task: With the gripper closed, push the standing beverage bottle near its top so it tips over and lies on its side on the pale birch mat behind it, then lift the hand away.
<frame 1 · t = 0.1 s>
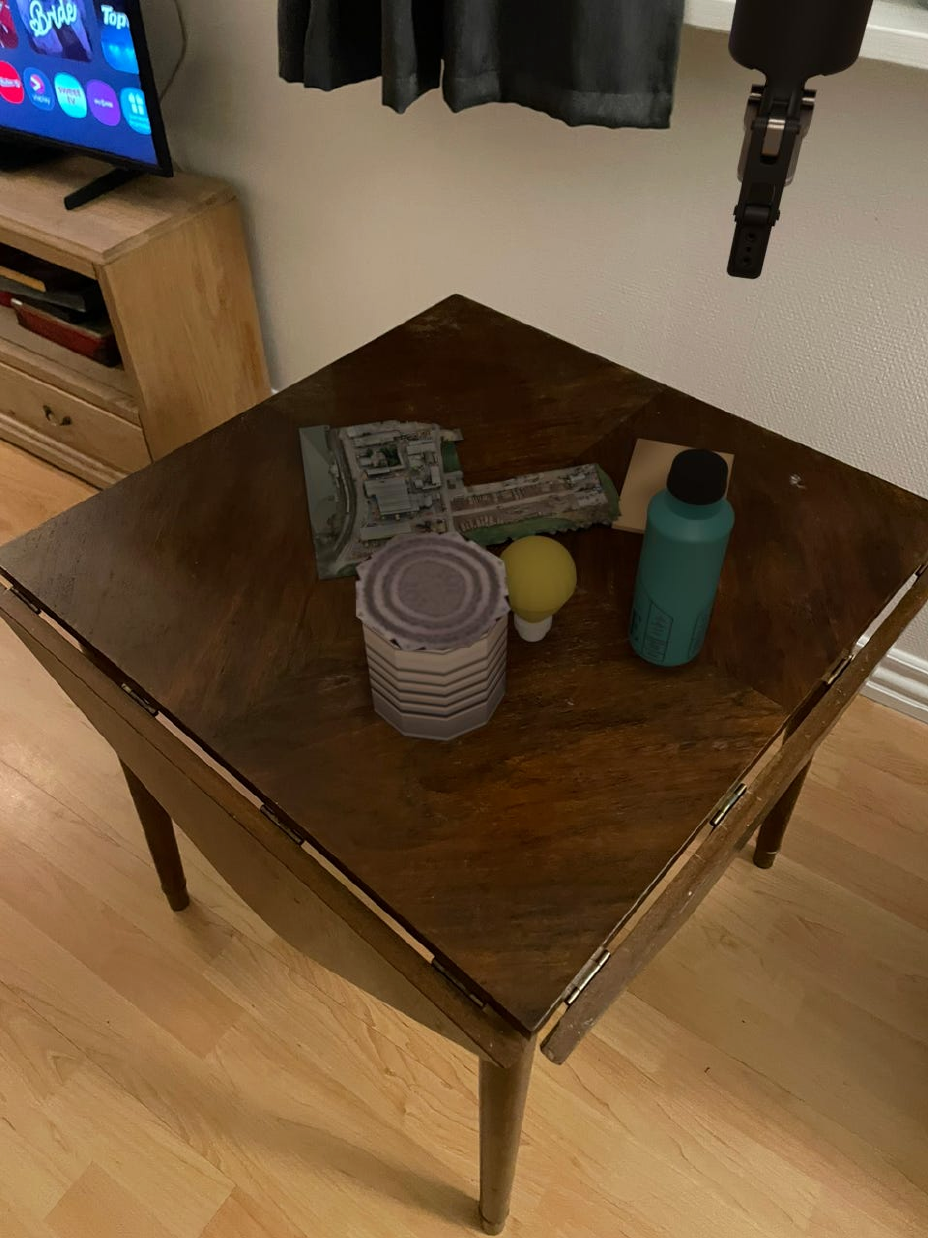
hand: (749, 246, 64), 30 cm above the table, tool pointing down, fingers open, 8 cm apart
mat: (674, 492, 93), on the table
can: (437, 687, 77), on the table
model: (458, 484, 94), on the table, touching mat
light bulb: (532, 632, 81), on the table
beverage bottle: (660, 652, 79), on the table
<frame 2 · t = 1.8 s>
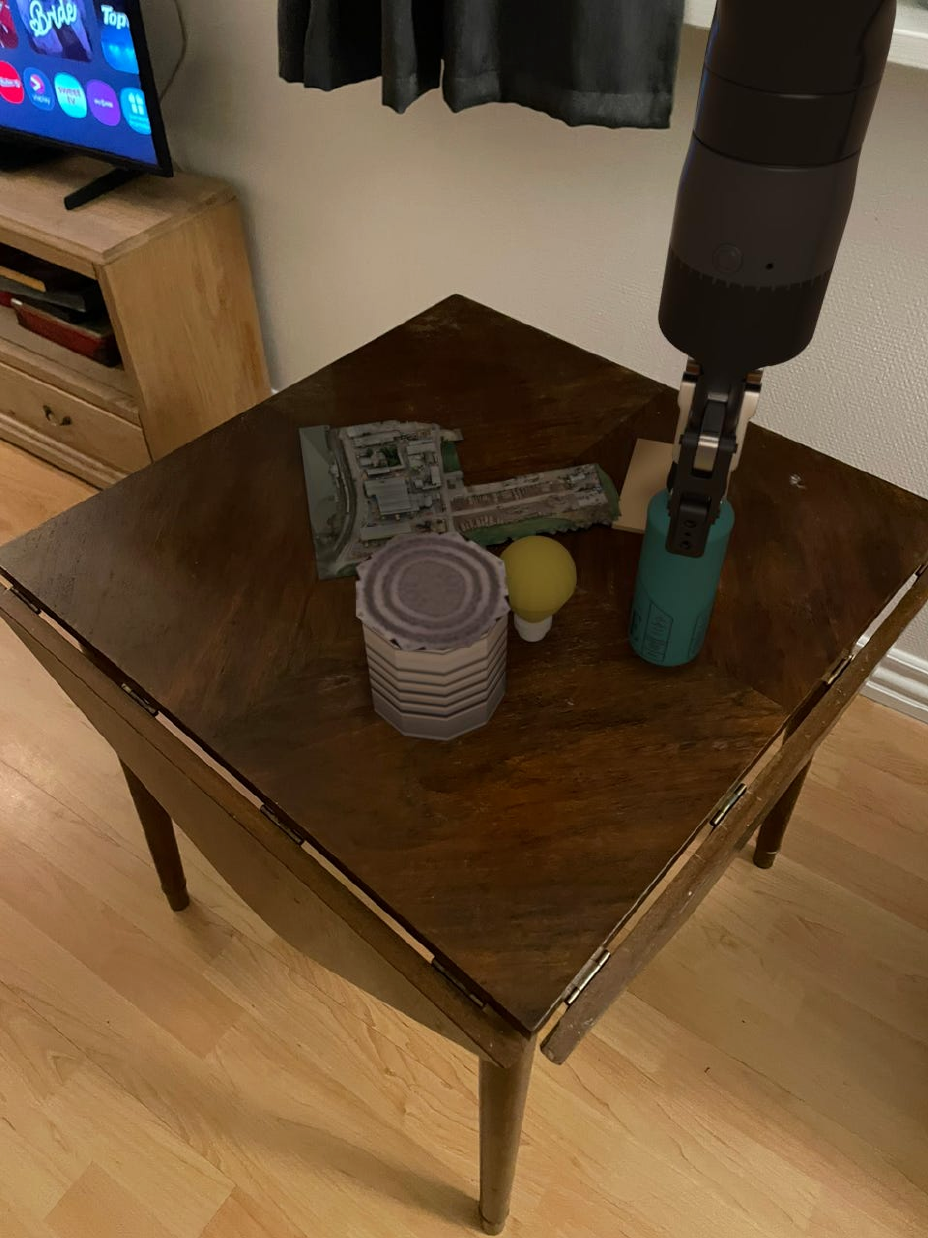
hand: (691, 515, 55), 24 cm above the table, tool pointing down, fingers open, 5 cm apart
nothing on the table moved.
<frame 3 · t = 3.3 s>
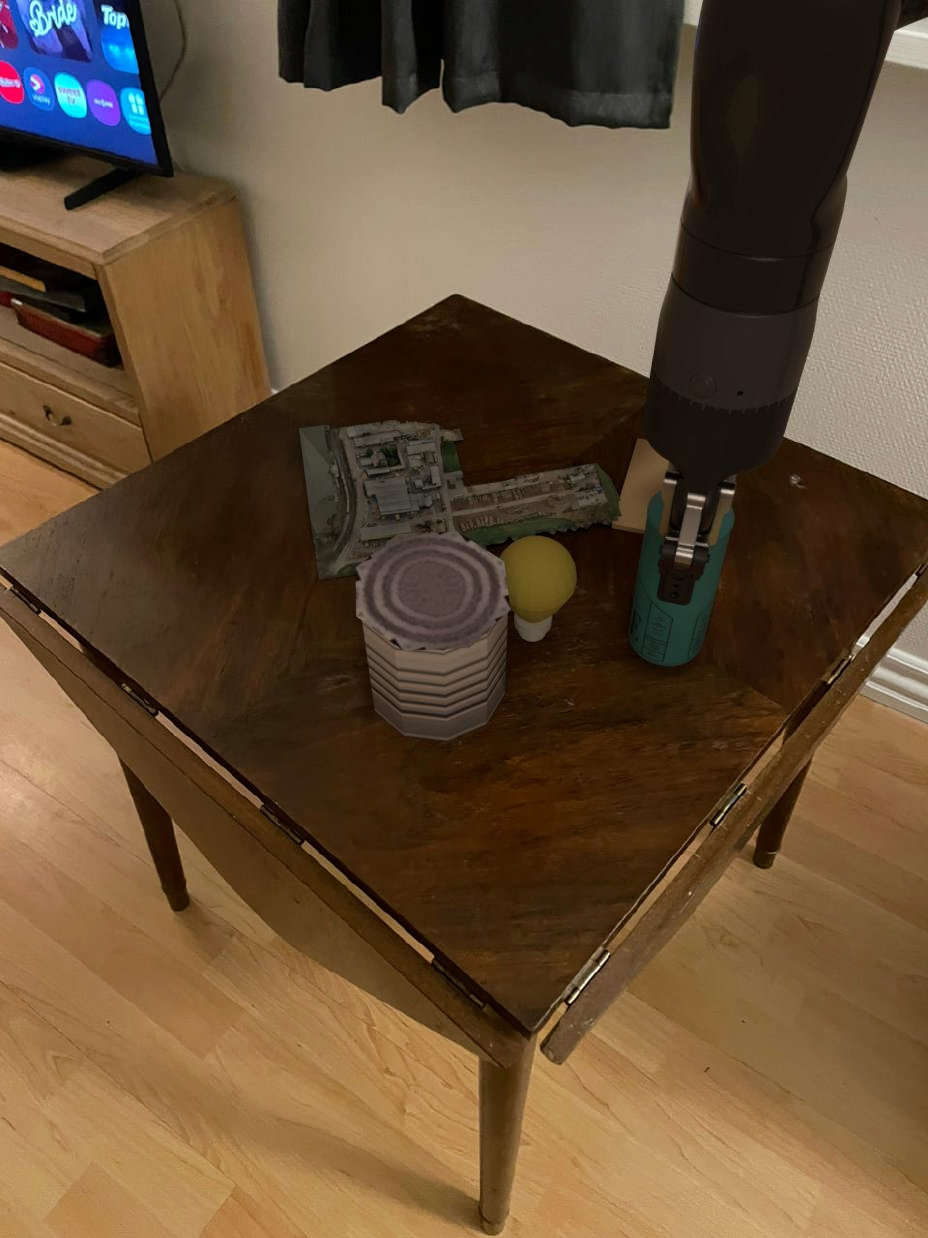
hand: (674, 595, 60), 16 cm above the table, tool pointing down, fingers closed
nothing on the table moved.
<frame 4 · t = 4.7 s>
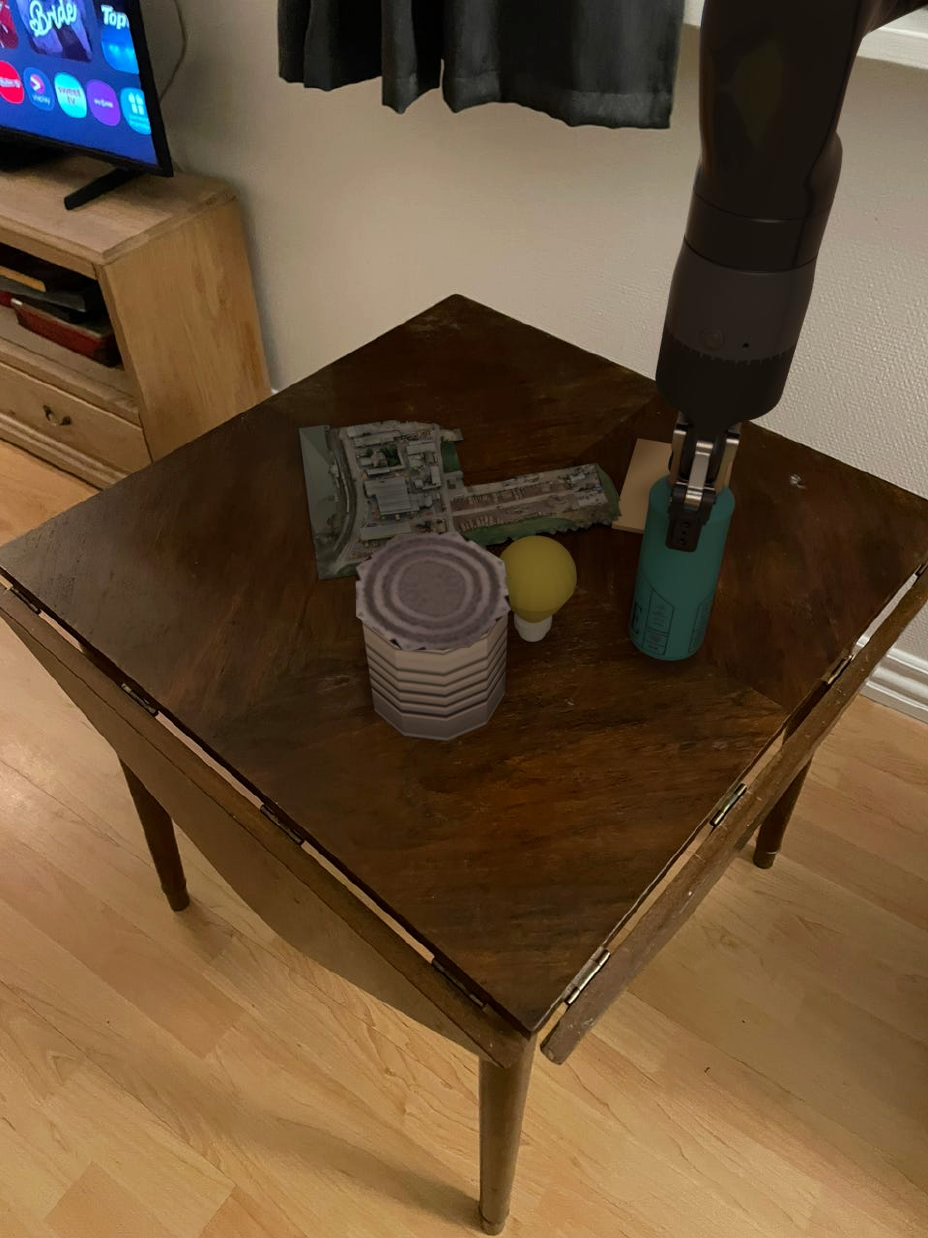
hand: (681, 543, 65), 15 cm above the table, tool pointing down, fingers closed
beverage bottle: (661, 650, 79), on the table, touching hand
everything else where it was.
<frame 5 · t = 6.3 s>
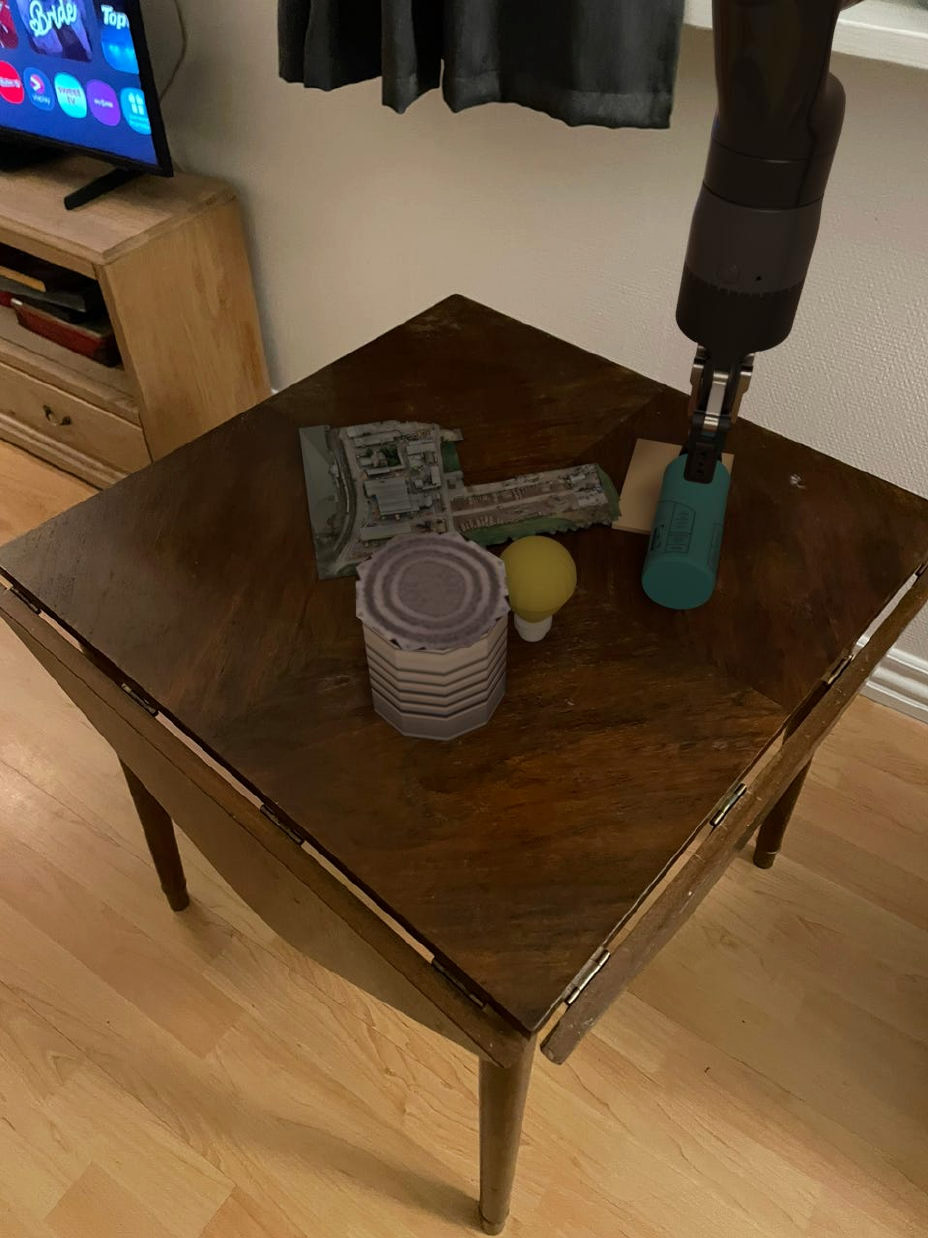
hand: (698, 476, 71), 15 cm above the table, tool pointing down, fingers closed
beverage bottle: (672, 599, 78), point 3 cm above the table, touching mat
everything else where it was.
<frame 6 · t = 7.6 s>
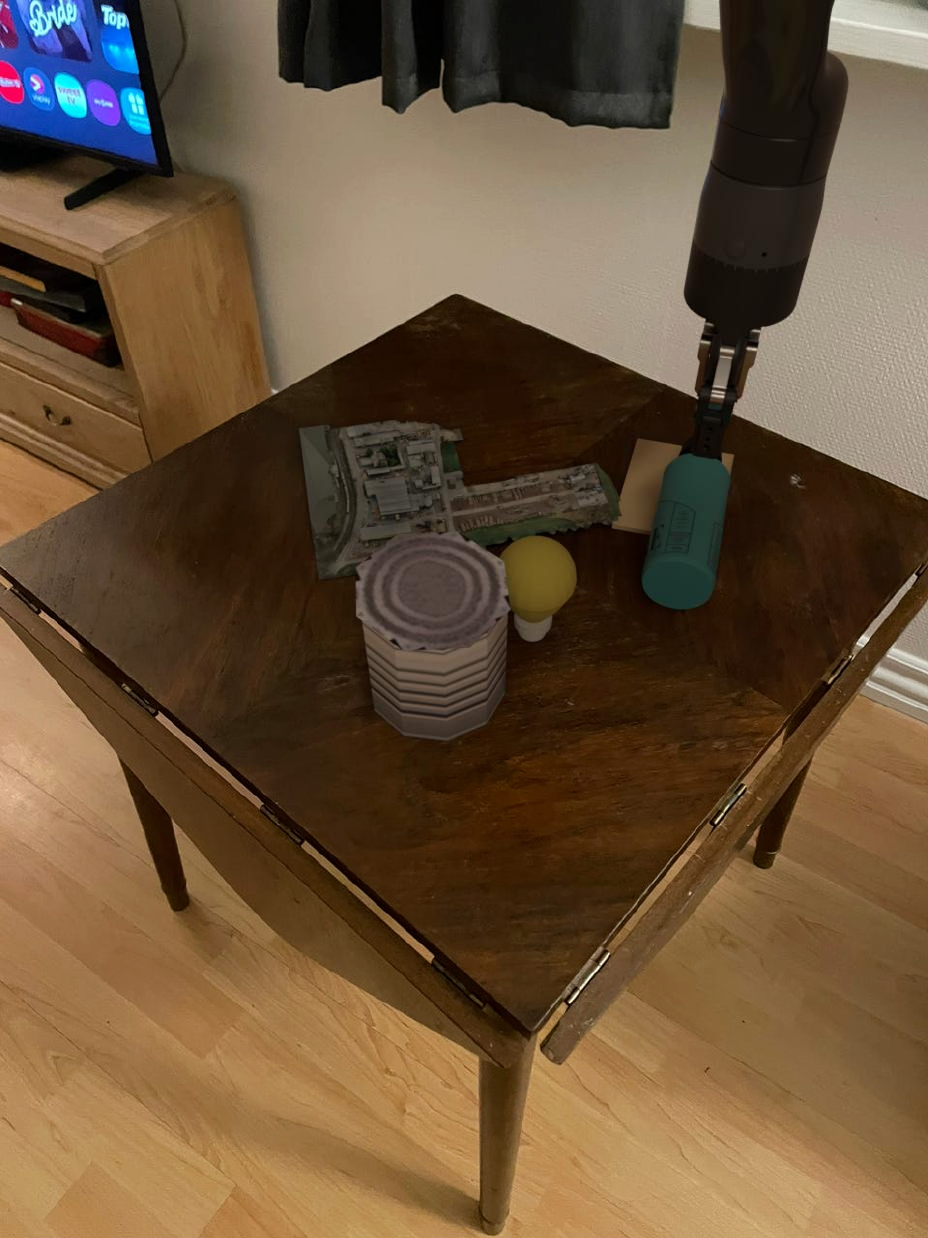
hand: (704, 451, 73), 15 cm above the table, tool pointing down, fingers closed
nothing on the table moved.
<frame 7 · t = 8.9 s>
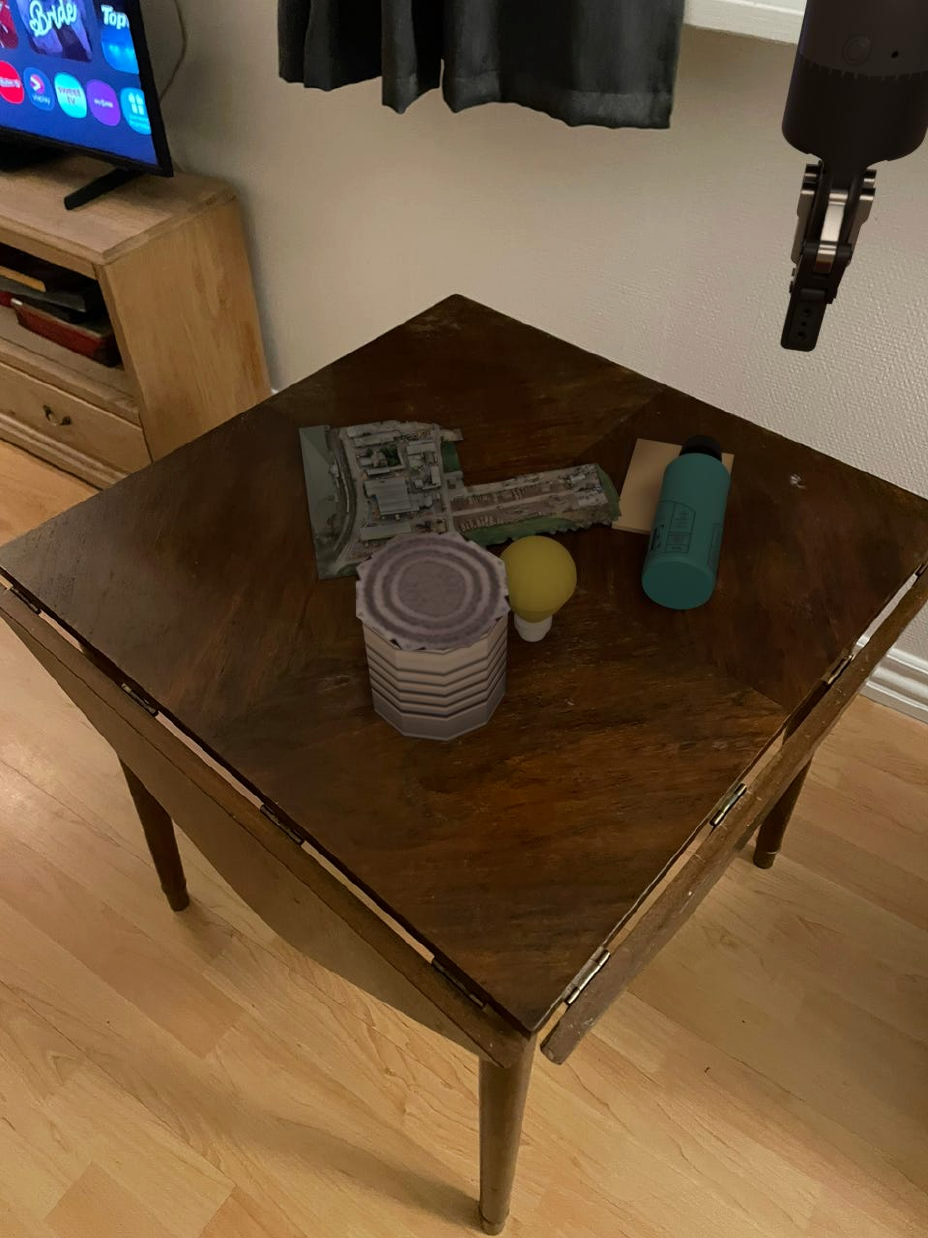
hand: (797, 344, 61), 27 cm above the table, tool pointing down, fingers closed
nothing on the table moved.
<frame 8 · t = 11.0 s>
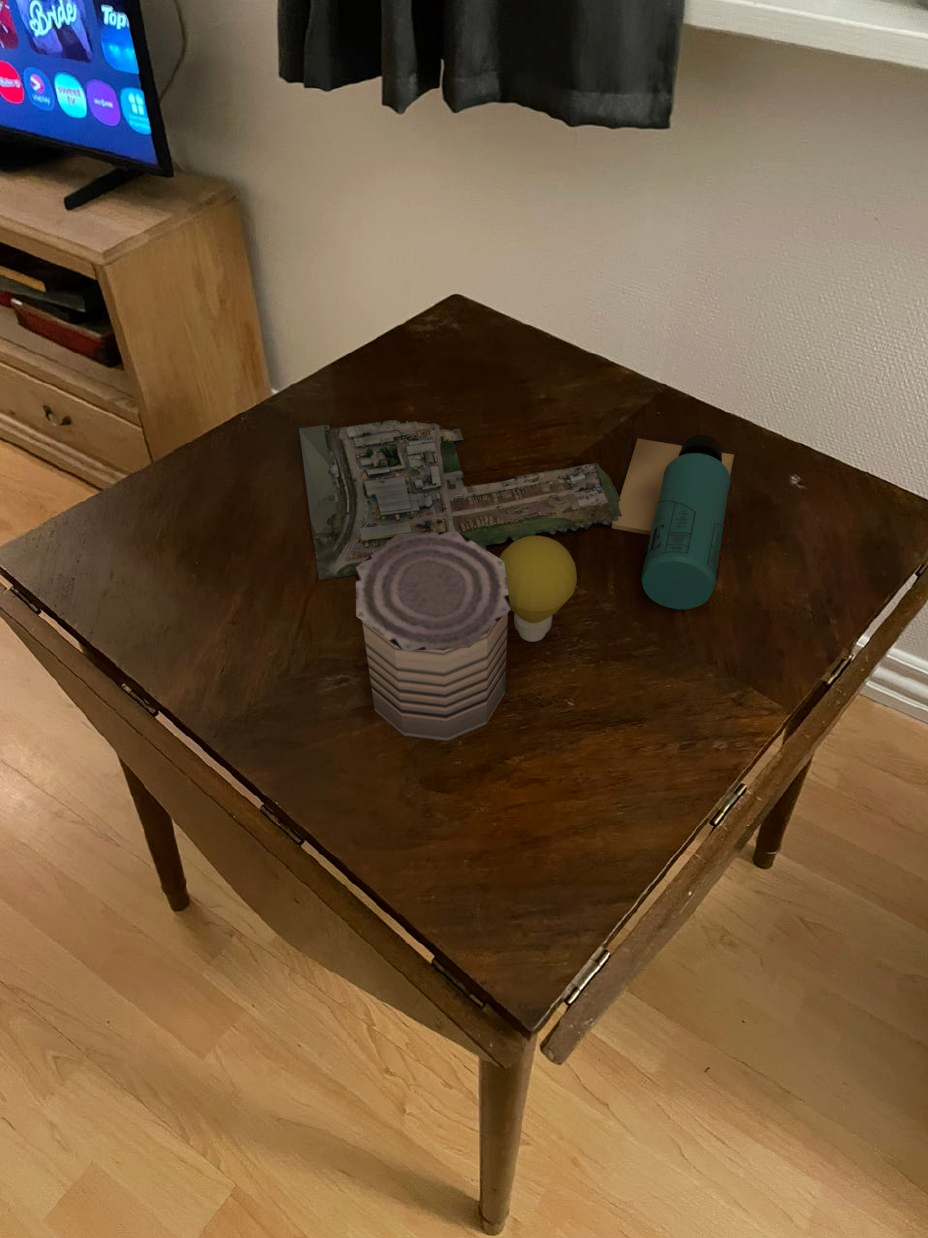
nothing on the table moved.
at the end: beverage bottle tilted 87°; beverage bottle touching mat, table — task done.
